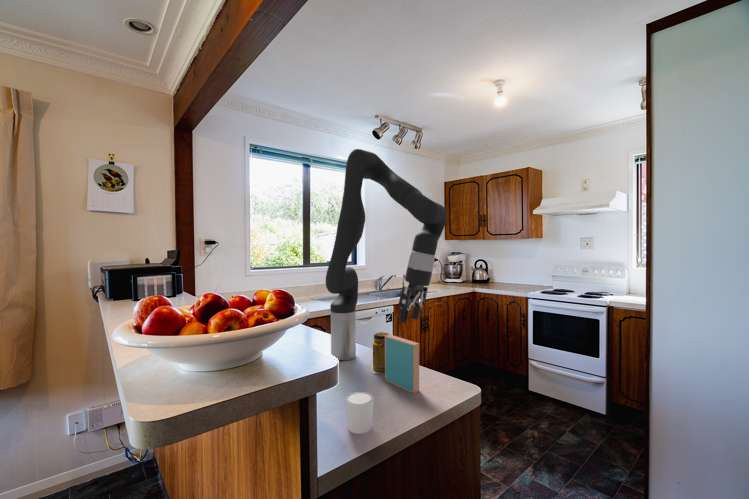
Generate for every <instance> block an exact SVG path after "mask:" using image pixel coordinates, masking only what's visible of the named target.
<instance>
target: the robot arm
mask: <svg viewBox="0 0 749 499" xmlns="http://www.w3.org/2000/svg"><path fill="white" fill-rule="evenodd" d="M344 173H345V174H344V183H343V184H344V186H343V193H342V194H343V195H342V199H341V200H342V201H341V209H340V212H339V217H338V222H337V226H336V227H337V228H336V232H335V234H336V235H335V239H334V243H333V244H334V245H333V249H332V253H331V257H330V261H329V264H328V267H327V270H326V275H325V288H326V289H327V291H328V292H329V293H331V294H334V295H337V294H338V295H337V297H336V299H334V300H333V301H332V302H331V303H330V355H331V354H332V355H333V356H335V357H336V358H338V359H340V360H344V361H350V360H353V359H354V358H356V357H357V354H356V353H357V346H356V345H357V344H356V343H357V341H356V340H357V335H356V331H357V330H356V325H357V323H356V319H357V318H356V307H357V304H358V297H359V296H358V295H359V276H358V273H357V271H356V270H355V268H353V267H350V266H347V265H348V261H349V259H350V256H351V254H352V253H353V251H354V250H355V248H356V247H357V245H358V244H359V242H360V240H361V239H362V237H363V233H364V228H365V223H366V212H365V207H364V203H363V199H362V187H363V183H364V182H363V181H364V180H371V181H373V182H376V183H377V184H379V185H380V186H382V187H383V188H384V190H386V192H387V194H388V195H389V196H390V197H391V199H392V200H393V201H395V202H396V204H397V203H398V204H399V205H400V206H401V207H402V208H404V209H405V210H407V211H408V212H409V213H410V214H411V215H412V216H413V217H414V218H415V219H416V220H417V221H418V222H420V223H421V224H423V225H422V228H421V231H420V232H418V233H416V234H415V236H414V239H413V242H412V243H413V244H412V248H411V252H410V254H409V259H408V262H407V267H406V273H405V276H404V280H405V281H406V282H407V283H408V285H407V286H402V288H401V293H400V297H399V302H398V304H397V306H398V308H400V309H401V311H400V315H399V319H398V321H399V322H400V323H403V324H406V323H407V322H408V318H409V314H410V310H411V308H412V306H413V308H412V311H411V315H410V316H411V319H412V320H415V321H417V320H419V318H420V313H421V309H422V308H423V306H425V305H426V301H427V300H426V298H427V295H428V289H429V288H428V287H429V286H430V285H431V279H432V275H433V270H434V265H435V257H436V252H437V249H438V242H439V240H440V238H441V235H442V233H443V231H444V228H445V227H446V226H445V225H446V223H447V219H448V218H447V216H448V215H447V210H446V208H445V207H444V206H443V205H442V204H440V203H437V202H435V201H433V200H432V199H431V198H428V197H427V196H425V195H424V194H423V193H422V192H421V191H420V190H419V189H418V188H417V187H415V186H413V185H412V184H411V183H409V182H408V181H407V180H405V179H404V178H403V177H401V176H400V175H398V174H397V173H396V172H395V171H394V170H392V169H391V168H390V167H389V166H388V165H387V164H386V163H385V162H384V161H383V160H382V159H381V158H380V157H379V155H377V154H376V153H374V152H373V151H368V150H366V149H361V148H355V149H353V150H352V151H351V152H350V153H349V154H348V156H347V160H346V164H345V172H344ZM340 360H339V361H340Z"/></svg>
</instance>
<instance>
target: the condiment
mask: <svg viewBox="0 0 749 499" xmlns="http://www.w3.org/2000/svg"><path fill="white" fill-rule="evenodd" d="M386 335H390V334H389V333H388V332H376V333H374V335H373V341H372V364H371V365H370V366H371V371H372V374H373V375H375V374H376V375H377V374H378V375H379V374H385V336H386Z"/></svg>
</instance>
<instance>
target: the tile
mask: <svg viewBox="0 0 749 499" xmlns="http://www.w3.org/2000/svg"><path fill="white" fill-rule="evenodd" d="M384 381H385V382H387V383H390V384H392V385H394V386H396V387H398V388H401V389H403V390H406V391H408V392H410V393H412V394H416V393H418V392H419V391H420V343H419V342H416V341H412V340H409V339H406V338H402V337H400V336H396V335H392V334H389V335H386V336H385V373H384Z"/></svg>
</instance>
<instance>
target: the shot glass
mask: <svg viewBox="0 0 749 499" xmlns="http://www.w3.org/2000/svg"><path fill="white" fill-rule="evenodd" d="M374 397H375V396H374V395H372V394H371V393H369V392H365V391H355V392H351V393H348V394H347V395H346V396H345V398H344V401H345V409H346V410H345V412H346V420H347V421H346V422H347V429H348V430H349V432H350V433H353V434H356V435H360V434H361V435H362V434H366V433H369V432H370V431H371V430H372V428H373V419H374V418H373V416H374V407H375V406H374V404H375V398H374Z"/></svg>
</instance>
